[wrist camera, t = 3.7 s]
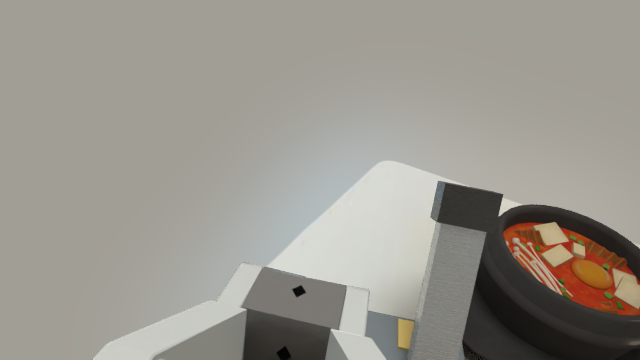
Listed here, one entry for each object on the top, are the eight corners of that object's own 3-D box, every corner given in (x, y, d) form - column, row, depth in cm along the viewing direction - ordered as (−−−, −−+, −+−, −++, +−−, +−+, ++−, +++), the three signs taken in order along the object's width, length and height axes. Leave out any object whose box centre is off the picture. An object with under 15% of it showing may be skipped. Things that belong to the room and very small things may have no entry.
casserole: (475, 418, 34) (515, 356, 30) (398, 252, 49) (417, 193, 45) (715, 385, 40) (782, 328, 35) (582, 245, 55) (616, 192, 50)
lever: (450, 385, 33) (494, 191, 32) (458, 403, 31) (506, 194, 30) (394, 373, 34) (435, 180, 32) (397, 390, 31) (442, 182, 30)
